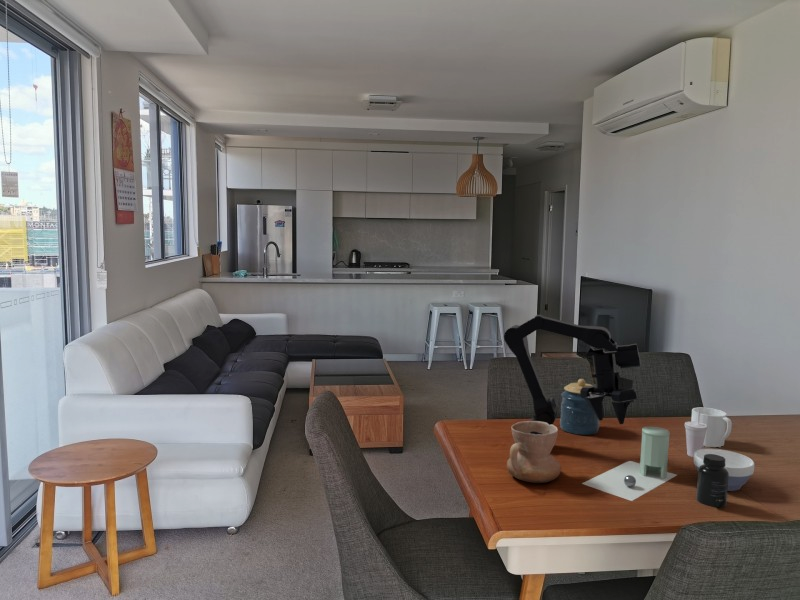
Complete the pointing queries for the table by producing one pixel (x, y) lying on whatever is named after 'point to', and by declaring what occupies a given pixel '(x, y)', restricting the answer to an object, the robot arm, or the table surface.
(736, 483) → the bowl
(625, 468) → the off-white mat
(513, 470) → the ceramic jug
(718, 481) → the supplement bottle
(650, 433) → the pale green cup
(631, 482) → the steel ball
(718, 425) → the mug
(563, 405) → the canister
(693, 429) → the smoothie
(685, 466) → the table surface
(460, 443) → the table surface
